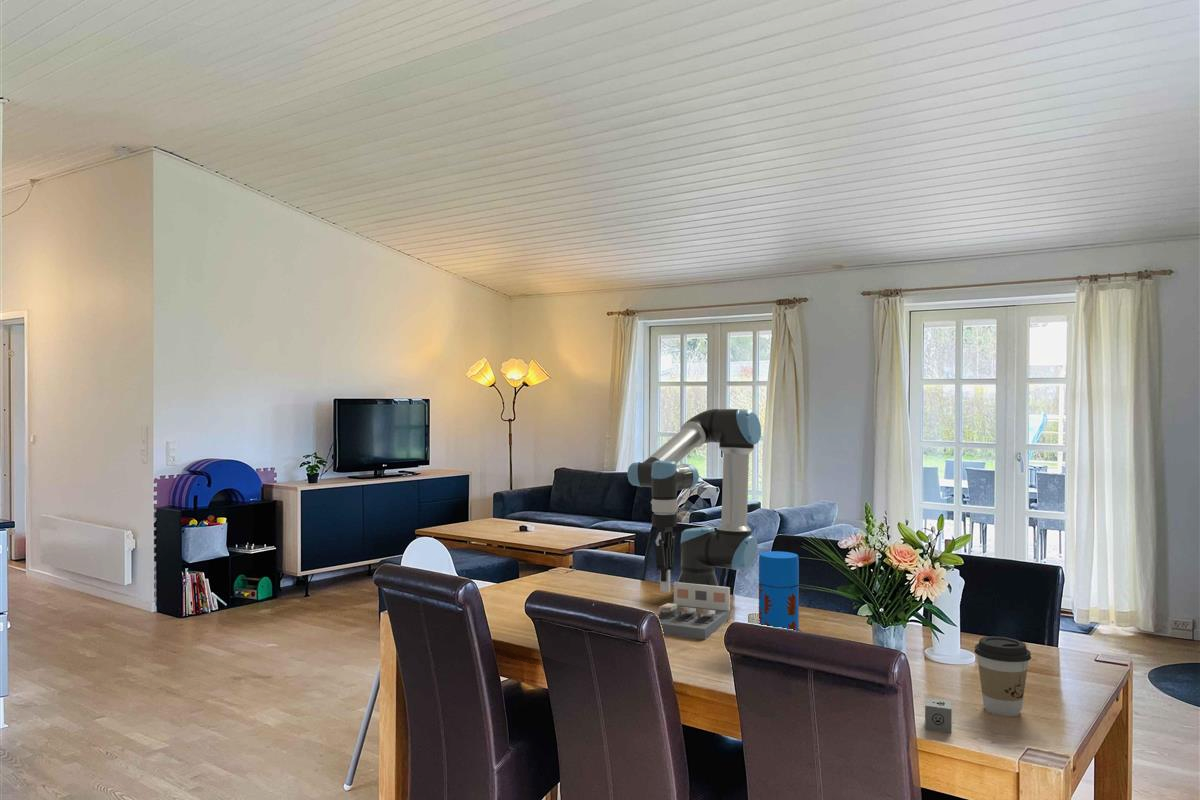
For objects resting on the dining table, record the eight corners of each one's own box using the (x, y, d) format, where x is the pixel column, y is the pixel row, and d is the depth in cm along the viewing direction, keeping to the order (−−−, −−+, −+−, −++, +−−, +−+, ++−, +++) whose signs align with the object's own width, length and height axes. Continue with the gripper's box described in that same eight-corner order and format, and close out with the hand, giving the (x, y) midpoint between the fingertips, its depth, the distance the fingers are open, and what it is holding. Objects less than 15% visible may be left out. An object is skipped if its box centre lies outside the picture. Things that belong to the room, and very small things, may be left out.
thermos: (796, 640, 239) (796, 551, 239) (801, 651, 229) (801, 558, 229) (757, 638, 240) (757, 550, 240) (760, 650, 230) (760, 558, 230)
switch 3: (705, 613, 254) (705, 609, 254) (714, 614, 252) (715, 610, 253) (696, 613, 247) (697, 608, 247) (706, 614, 245) (707, 609, 246)
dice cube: (951, 733, 173) (951, 709, 173) (925, 729, 175) (925, 705, 175) (951, 724, 177) (951, 701, 177) (926, 721, 179) (926, 697, 179)
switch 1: (668, 607, 259) (668, 602, 259) (677, 608, 258) (677, 604, 258) (658, 611, 252) (658, 606, 252) (667, 612, 251) (668, 607, 251)
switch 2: (686, 611, 256) (686, 607, 257) (695, 612, 255) (696, 608, 255) (677, 610, 249) (677, 606, 250) (687, 612, 248) (687, 607, 248)
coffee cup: (1005, 723, 178) (1005, 652, 178) (962, 705, 188) (962, 638, 188) (1043, 715, 182) (1043, 646, 182) (999, 698, 193) (999, 632, 193)
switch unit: (674, 613, 269) (674, 581, 269) (729, 619, 261) (729, 587, 261) (646, 632, 247) (646, 597, 247) (705, 639, 239) (705, 604, 239)
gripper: (660, 509, 260) (661, 585, 260) (644, 515, 248) (645, 595, 248) (683, 510, 256) (684, 587, 257) (668, 516, 245) (669, 597, 245)
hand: (665, 591), depth 253 cm, fingers closed
